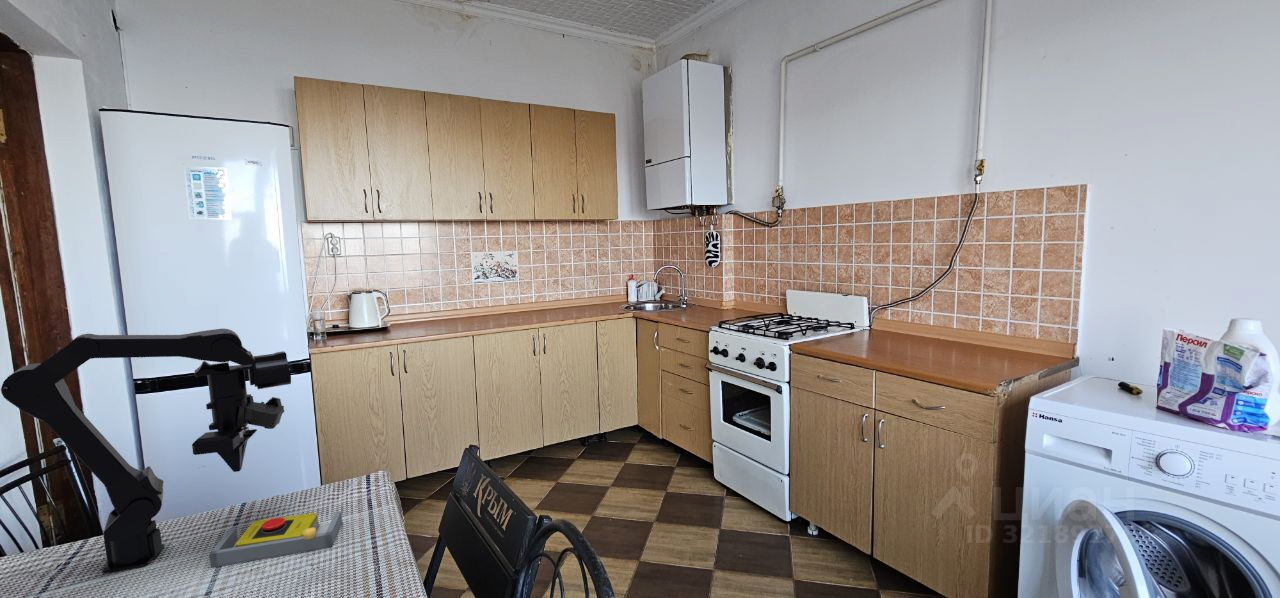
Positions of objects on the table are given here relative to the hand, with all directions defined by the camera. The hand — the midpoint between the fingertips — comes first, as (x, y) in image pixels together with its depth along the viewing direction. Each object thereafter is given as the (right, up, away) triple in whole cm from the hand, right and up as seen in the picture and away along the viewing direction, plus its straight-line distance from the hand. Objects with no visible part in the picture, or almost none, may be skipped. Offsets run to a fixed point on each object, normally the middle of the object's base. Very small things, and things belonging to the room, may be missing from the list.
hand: (237, 470), depth 108 cm
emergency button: (+11, -13, -3) cm, 17 cm away
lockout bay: (+11, -12, -4) cm, 17 cm away
